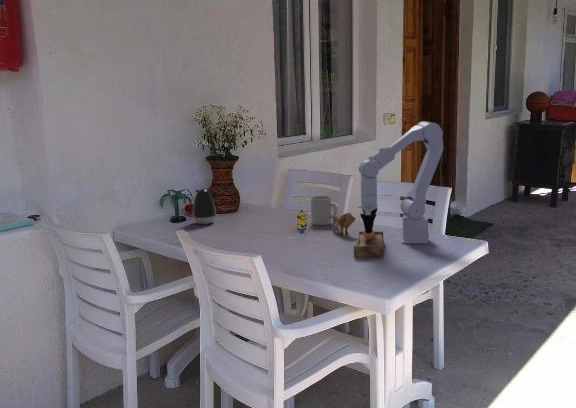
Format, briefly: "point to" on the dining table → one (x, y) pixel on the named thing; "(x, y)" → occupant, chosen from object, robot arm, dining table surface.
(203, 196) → the dark egg-shaped device
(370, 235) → the ball
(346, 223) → the lion figurine
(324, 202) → the mug
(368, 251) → the wooden shadow box
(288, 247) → the dining table surface
